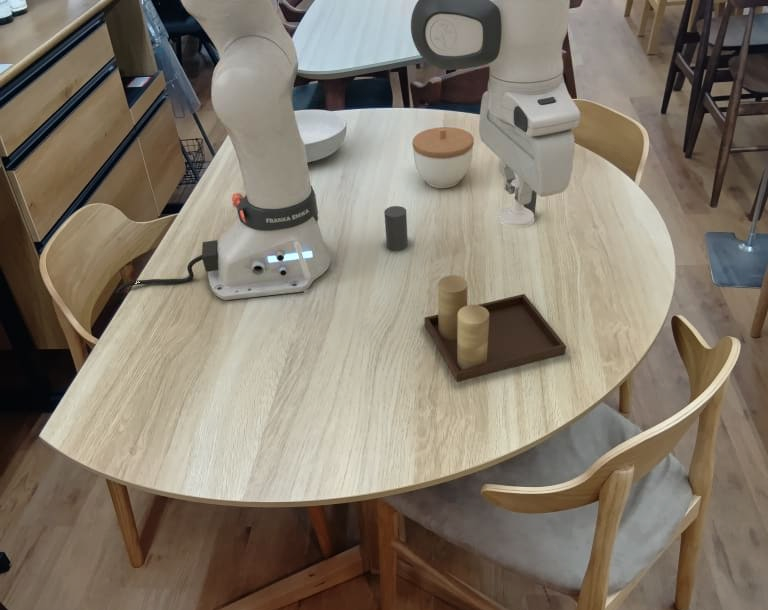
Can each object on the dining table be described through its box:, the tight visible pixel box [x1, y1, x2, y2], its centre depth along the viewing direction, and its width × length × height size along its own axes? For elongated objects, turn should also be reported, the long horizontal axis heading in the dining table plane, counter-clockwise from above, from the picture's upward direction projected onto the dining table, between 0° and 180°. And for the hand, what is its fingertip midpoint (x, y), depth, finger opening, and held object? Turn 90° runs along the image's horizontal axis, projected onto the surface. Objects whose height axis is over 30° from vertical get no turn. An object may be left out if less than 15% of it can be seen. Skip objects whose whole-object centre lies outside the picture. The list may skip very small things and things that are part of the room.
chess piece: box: [498, 172, 535, 229], centre depth 92 cm, size 5×5×10 cm
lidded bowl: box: [411, 126, 475, 189], centre depth 140 cm, size 13×13×11 cm
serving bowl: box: [294, 109, 348, 163], centre depth 156 cm, size 21×21×7 cm
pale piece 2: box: [457, 304, 489, 370], centre depth 96 cm, size 4×4×9 cm
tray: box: [423, 293, 567, 383], centre depth 102 cm, size 17×14×2 cm
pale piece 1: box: [437, 274, 469, 340], centre depth 102 cm, size 4×4×9 cm
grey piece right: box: [523, 190, 538, 219], centre depth 128 cm, size 4×4×7 cm
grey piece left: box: [383, 205, 409, 251], centre depth 123 cm, size 4×4×7 cm
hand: (517, 196), depth 92 cm, fingers closed on chess piece
